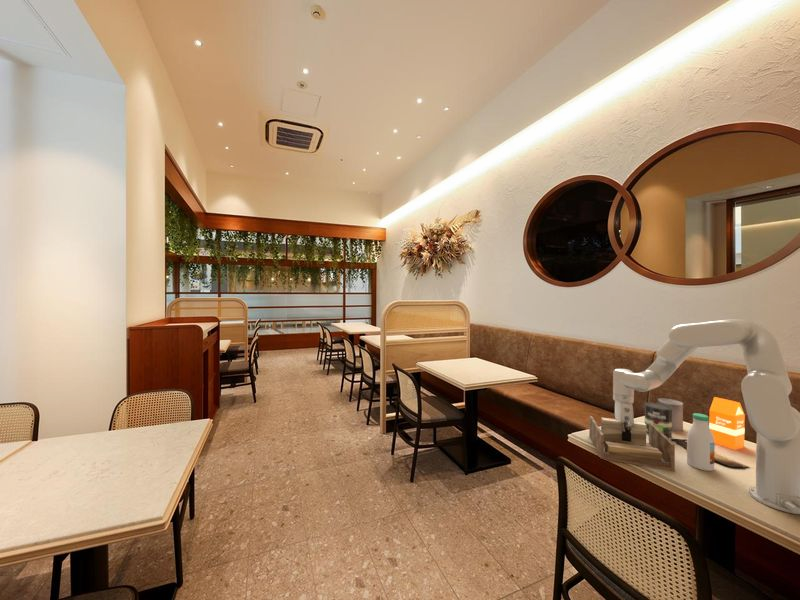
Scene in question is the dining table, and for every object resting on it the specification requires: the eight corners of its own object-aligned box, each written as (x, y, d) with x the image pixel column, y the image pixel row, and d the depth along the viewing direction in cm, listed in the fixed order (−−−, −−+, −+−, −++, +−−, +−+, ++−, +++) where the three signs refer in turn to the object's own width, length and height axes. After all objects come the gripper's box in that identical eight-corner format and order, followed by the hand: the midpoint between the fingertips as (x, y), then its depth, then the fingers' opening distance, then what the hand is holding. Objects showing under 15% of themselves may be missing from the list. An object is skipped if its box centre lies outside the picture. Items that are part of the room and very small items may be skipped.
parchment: (752, 468, 120) (752, 466, 120) (730, 469, 119) (730, 467, 119) (684, 440, 145) (684, 438, 145) (666, 441, 143) (666, 439, 143)
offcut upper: (662, 458, 122) (662, 453, 122) (608, 451, 128) (608, 446, 128) (656, 453, 126) (656, 448, 126) (605, 446, 132) (605, 441, 132)
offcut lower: (661, 463, 122) (661, 458, 122) (607, 455, 128) (607, 450, 128) (656, 457, 126) (656, 452, 126) (604, 450, 133) (604, 445, 133)
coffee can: (670, 442, 142) (670, 411, 142) (642, 434, 150) (642, 405, 150) (673, 435, 149) (674, 406, 149) (646, 428, 157) (646, 400, 157)
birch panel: (646, 448, 134) (646, 425, 134) (602, 442, 140) (602, 419, 140) (643, 445, 137) (643, 422, 137) (601, 439, 143) (601, 417, 143)
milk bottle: (704, 472, 117) (704, 419, 117) (681, 462, 125) (682, 412, 125) (719, 470, 119) (720, 417, 119) (696, 460, 127) (697, 410, 126)
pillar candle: (660, 423, 164) (660, 394, 164) (685, 429, 157) (685, 399, 157) (655, 427, 158) (655, 398, 158) (680, 434, 151) (680, 403, 151)
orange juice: (718, 438, 146) (718, 395, 146) (744, 447, 138) (745, 401, 138) (708, 441, 143) (709, 397, 143) (735, 450, 135) (735, 403, 135)
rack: (674, 471, 118) (674, 444, 118) (600, 459, 127) (600, 434, 127) (651, 445, 139) (651, 423, 139) (589, 436, 148) (589, 415, 147)
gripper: (640, 404, 129) (640, 446, 129) (627, 392, 145) (626, 429, 145) (619, 402, 132) (618, 443, 132) (608, 391, 148) (607, 427, 148)
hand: (622, 436), depth 139 cm, fingers open, 9 cm apart
